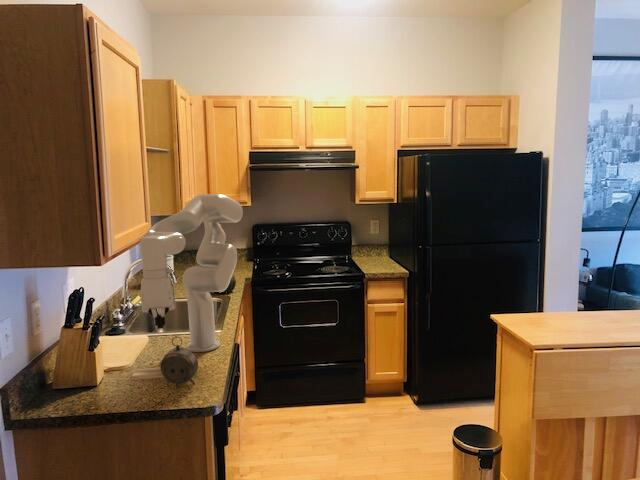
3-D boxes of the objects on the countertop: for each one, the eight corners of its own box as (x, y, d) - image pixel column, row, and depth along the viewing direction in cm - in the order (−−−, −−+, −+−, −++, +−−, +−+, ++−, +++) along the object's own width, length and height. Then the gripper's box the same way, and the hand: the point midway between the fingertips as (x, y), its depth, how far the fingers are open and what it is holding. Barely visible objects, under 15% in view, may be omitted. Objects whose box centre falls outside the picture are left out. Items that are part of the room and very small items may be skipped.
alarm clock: (199, 382, 149) (196, 333, 146) (193, 390, 143) (189, 340, 141) (167, 381, 150) (163, 333, 148) (159, 389, 145) (155, 339, 142)
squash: (224, 287, 250) (231, 263, 258) (200, 286, 256) (208, 263, 263) (235, 299, 261) (242, 275, 269) (213, 298, 267) (220, 275, 274)
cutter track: (135, 373, 157) (134, 361, 156) (186, 368, 160) (185, 356, 159) (132, 380, 152) (131, 367, 151) (184, 374, 155) (183, 362, 154)
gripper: (180, 269, 156) (185, 321, 159) (133, 272, 153) (139, 325, 156) (177, 274, 149) (182, 329, 152) (128, 278, 146) (134, 333, 149)
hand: (160, 327), depth 154 cm, fingers closed
